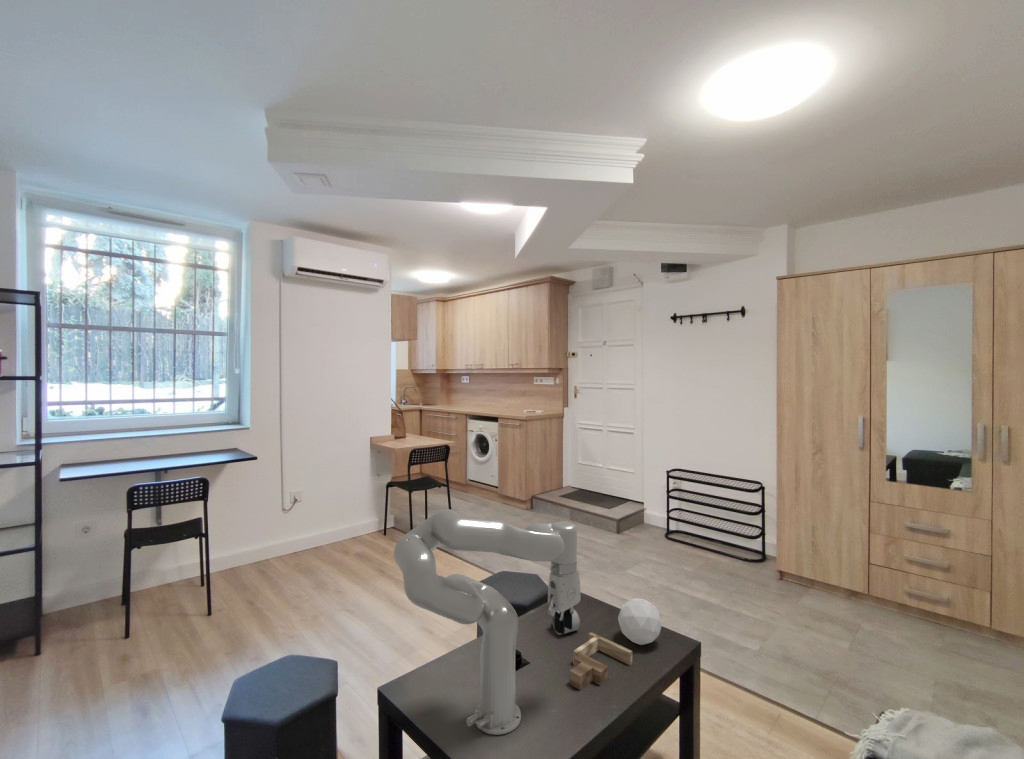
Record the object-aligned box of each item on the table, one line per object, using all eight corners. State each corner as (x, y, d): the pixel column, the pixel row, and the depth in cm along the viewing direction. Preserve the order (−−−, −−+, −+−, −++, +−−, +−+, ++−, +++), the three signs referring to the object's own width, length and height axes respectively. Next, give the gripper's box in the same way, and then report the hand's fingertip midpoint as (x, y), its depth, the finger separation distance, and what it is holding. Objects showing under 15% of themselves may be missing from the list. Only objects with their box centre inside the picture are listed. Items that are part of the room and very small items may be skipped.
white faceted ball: (651, 657, 163) (677, 632, 157) (616, 649, 158) (641, 623, 153) (637, 618, 175) (661, 594, 170) (605, 610, 171) (627, 585, 165)
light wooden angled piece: (609, 682, 141) (609, 669, 141) (566, 660, 153) (567, 647, 153) (632, 663, 151) (632, 650, 151) (591, 643, 162) (591, 632, 162)
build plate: (506, 680, 143) (506, 665, 143) (491, 669, 148) (491, 655, 148) (535, 663, 151) (535, 649, 151) (520, 654, 157) (520, 640, 157)
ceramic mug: (581, 633, 169) (581, 611, 169) (562, 639, 165) (562, 617, 165) (565, 620, 178) (565, 599, 178) (546, 625, 175) (546, 604, 175)
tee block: (588, 695, 136) (588, 681, 136) (561, 679, 143) (561, 666, 143) (608, 679, 143) (608, 666, 143) (581, 665, 150) (581, 653, 150)
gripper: (555, 578, 127) (555, 646, 127) (590, 562, 138) (590, 624, 138) (535, 570, 132) (535, 635, 132) (570, 555, 144) (570, 615, 144)
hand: (563, 629), depth 135 cm, fingers open, 2 cm apart
